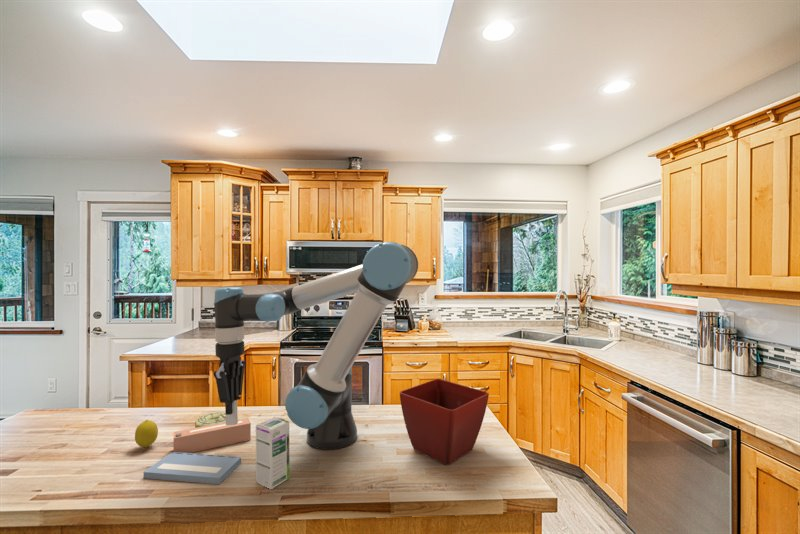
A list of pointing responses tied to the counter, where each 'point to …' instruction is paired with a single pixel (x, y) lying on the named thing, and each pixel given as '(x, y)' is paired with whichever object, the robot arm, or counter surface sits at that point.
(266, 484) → the syrup box
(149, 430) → the lemon
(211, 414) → the decorated donut
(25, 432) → the counter surface
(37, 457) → the counter surface
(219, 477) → the board
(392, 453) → the counter surface
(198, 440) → the pink rectangular bar
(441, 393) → the plant pot
